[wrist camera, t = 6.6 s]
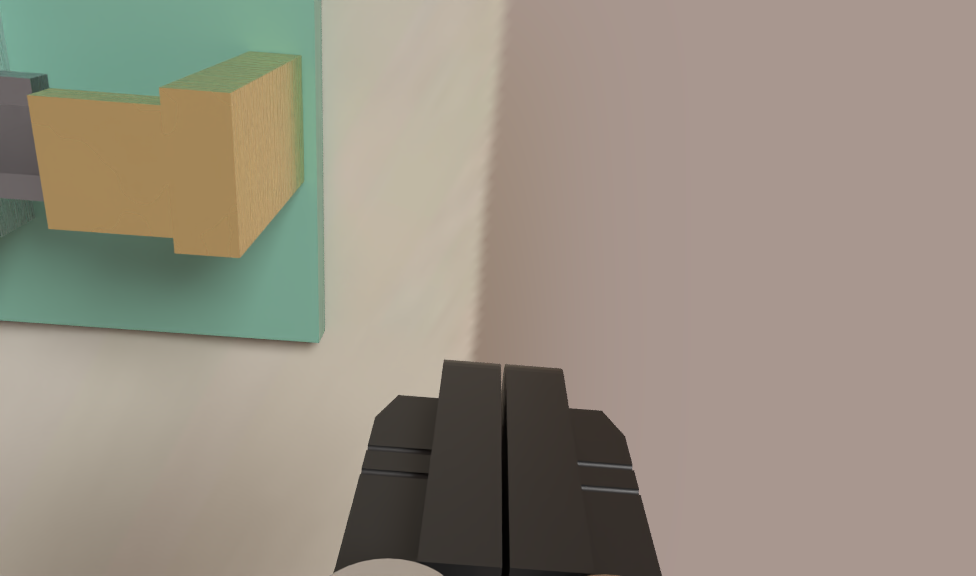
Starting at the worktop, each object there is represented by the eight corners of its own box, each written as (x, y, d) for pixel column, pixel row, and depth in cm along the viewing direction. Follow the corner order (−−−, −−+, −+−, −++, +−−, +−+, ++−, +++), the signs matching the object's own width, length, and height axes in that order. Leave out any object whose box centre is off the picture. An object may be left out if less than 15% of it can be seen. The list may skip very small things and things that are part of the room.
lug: (151, 43, 24) (24, 76, 17) (301, 55, 24) (230, 93, 17) (163, 170, 25) (51, 244, 19) (304, 180, 25) (239, 257, 19)
